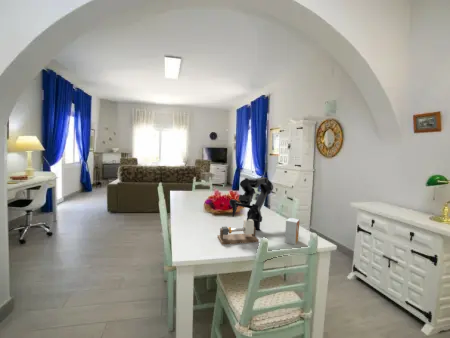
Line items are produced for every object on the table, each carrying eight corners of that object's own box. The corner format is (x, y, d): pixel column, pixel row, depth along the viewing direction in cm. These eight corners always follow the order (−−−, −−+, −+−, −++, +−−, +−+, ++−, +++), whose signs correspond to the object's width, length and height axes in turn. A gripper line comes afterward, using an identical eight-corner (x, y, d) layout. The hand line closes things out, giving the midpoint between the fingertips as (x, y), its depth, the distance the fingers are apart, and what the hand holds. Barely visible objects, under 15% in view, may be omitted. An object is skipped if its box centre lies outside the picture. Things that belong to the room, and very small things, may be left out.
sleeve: (250, 231, 145) (251, 219, 144) (253, 233, 141) (254, 221, 140) (243, 231, 144) (243, 219, 143) (245, 234, 139) (246, 221, 139)
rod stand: (251, 235, 149) (252, 223, 148) (258, 242, 138) (259, 228, 138) (217, 237, 143) (217, 224, 143) (221, 244, 133) (222, 231, 132)
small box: (295, 244, 136) (296, 222, 135) (284, 242, 139) (285, 220, 138) (298, 240, 143) (299, 219, 142) (287, 238, 146) (289, 217, 145)
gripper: (231, 186, 146) (222, 208, 139) (260, 192, 138) (252, 216, 131) (235, 195, 155) (227, 217, 147) (263, 201, 147) (255, 224, 139)
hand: (239, 218), depth 141 cm, fingers open, 9 cm apart
